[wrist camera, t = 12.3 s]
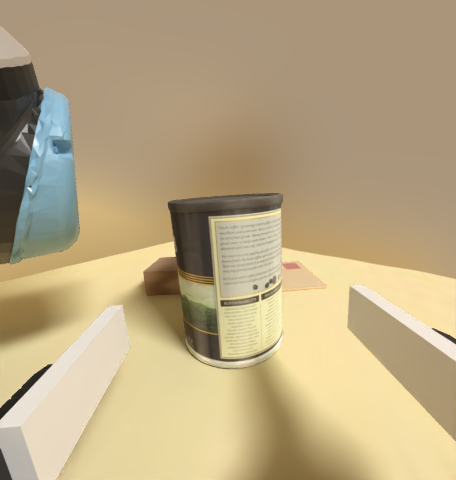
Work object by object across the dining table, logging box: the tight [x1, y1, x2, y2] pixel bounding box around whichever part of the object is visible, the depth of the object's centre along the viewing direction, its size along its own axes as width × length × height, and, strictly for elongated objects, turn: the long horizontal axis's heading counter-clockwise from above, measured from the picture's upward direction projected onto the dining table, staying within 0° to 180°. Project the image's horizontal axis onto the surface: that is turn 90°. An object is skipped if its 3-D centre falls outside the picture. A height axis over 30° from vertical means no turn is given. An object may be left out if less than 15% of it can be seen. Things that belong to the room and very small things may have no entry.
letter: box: [282, 261, 327, 291], centre depth 37 cm, size 16×12×1 cm
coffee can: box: [168, 193, 284, 369], centre depth 22 cm, size 10×10×14 cm
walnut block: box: [143, 257, 181, 295], centre depth 36 cm, size 7×7×4 cm
